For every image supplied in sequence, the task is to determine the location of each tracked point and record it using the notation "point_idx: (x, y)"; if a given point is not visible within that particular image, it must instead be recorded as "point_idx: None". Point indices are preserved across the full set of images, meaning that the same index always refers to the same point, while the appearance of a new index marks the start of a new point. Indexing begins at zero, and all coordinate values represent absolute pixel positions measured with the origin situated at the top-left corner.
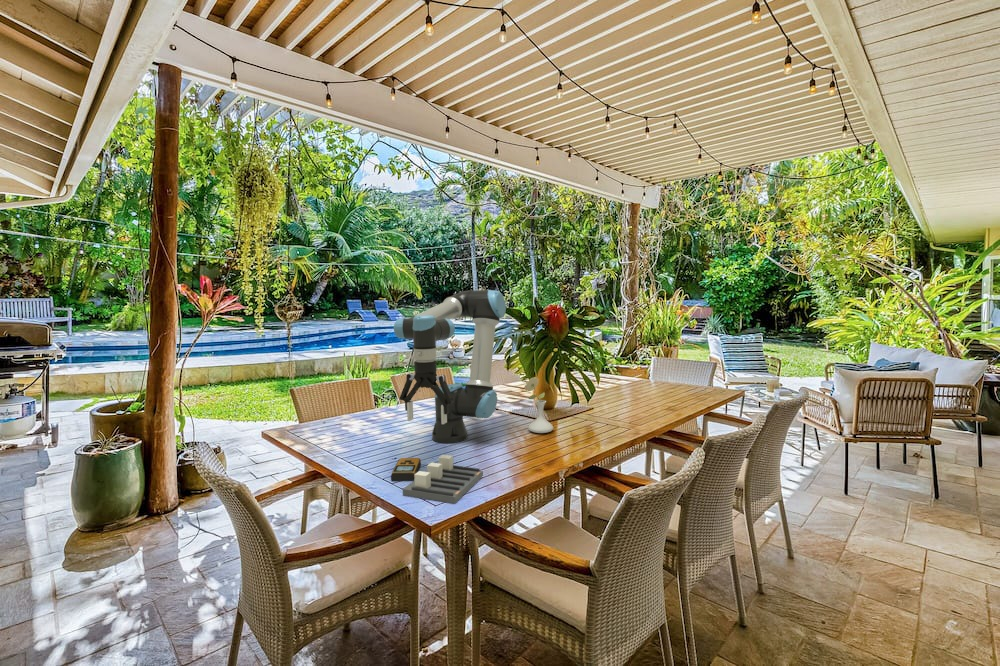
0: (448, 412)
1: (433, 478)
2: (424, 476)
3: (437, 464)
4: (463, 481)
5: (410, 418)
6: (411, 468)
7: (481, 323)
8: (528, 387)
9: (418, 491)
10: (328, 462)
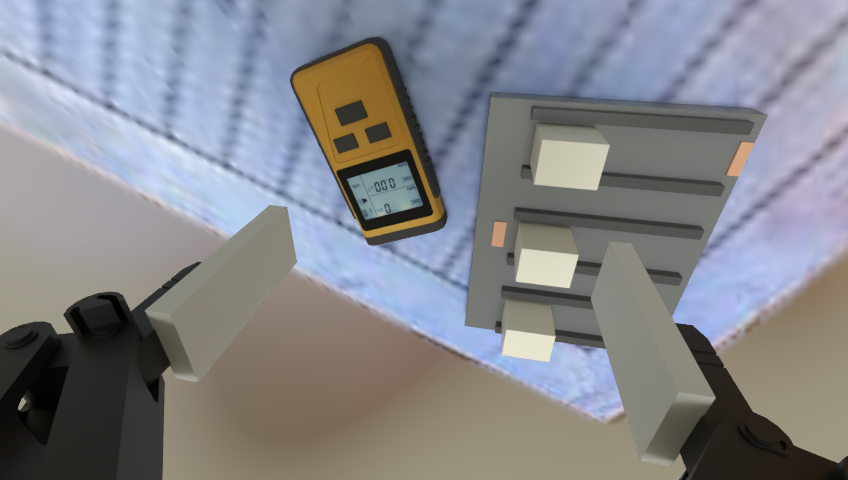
0: (699, 340)
1: None
2: (542, 359)
3: (558, 265)
4: (670, 246)
5: (286, 256)
6: (410, 185)
7: None
8: None
9: None
10: (55, 129)
